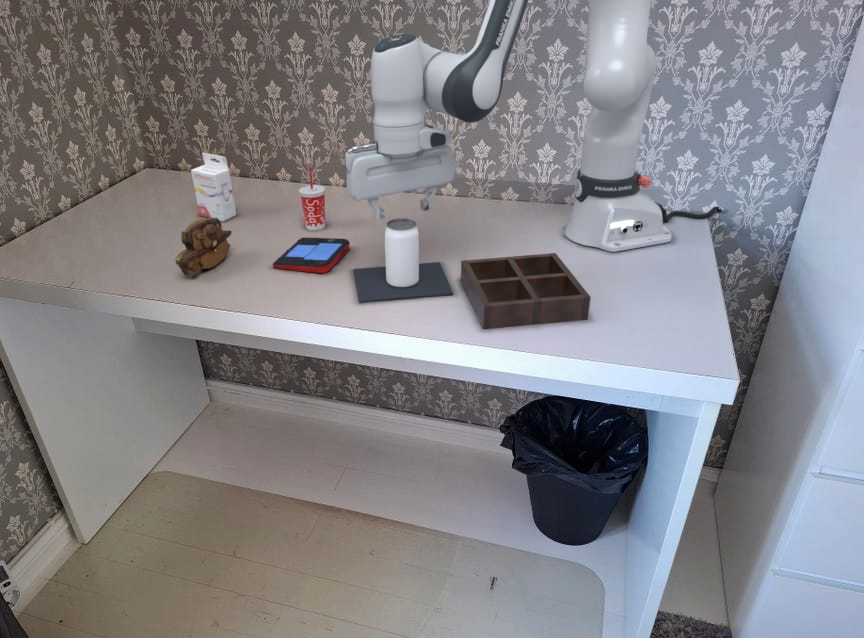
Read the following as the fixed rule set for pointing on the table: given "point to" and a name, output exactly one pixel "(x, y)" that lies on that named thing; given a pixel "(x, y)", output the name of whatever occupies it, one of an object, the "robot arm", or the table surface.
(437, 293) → the mat
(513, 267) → the crate
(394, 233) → the can
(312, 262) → the game console
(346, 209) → the table surface
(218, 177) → the ink cartridge box
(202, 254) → the wooden carving
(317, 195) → the beverage cup
